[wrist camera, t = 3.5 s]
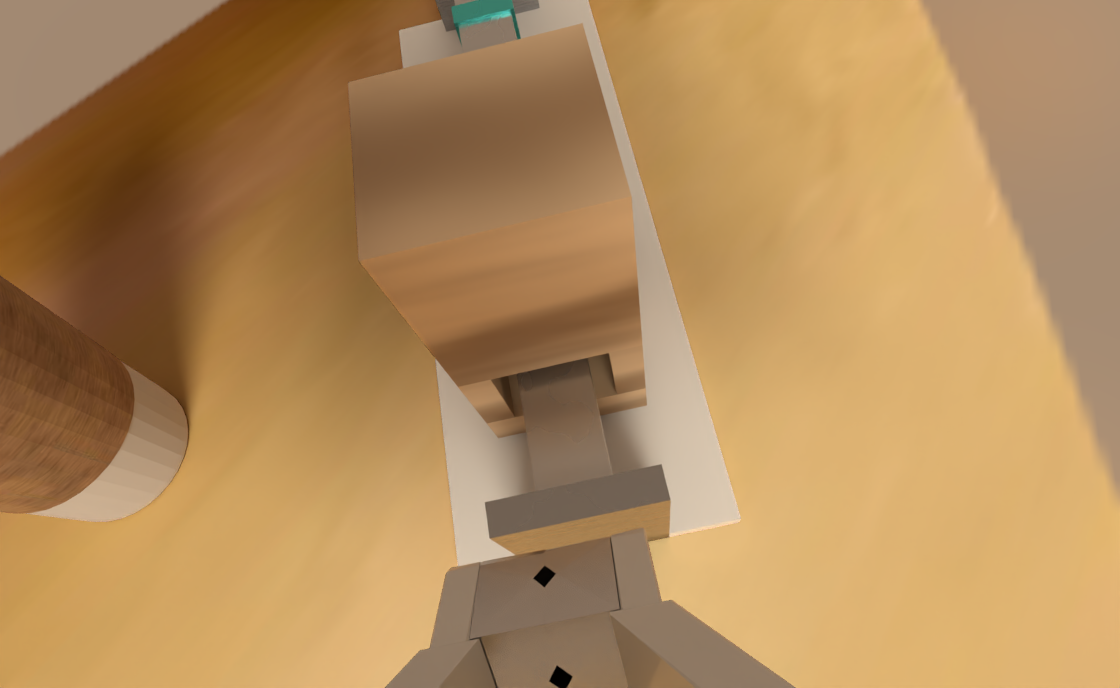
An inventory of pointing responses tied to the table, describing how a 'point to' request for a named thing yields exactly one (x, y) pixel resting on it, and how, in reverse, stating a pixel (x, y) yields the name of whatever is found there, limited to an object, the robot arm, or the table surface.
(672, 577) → the table surface
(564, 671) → the robot arm
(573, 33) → the wooden slider block
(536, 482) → the sliding carriage track
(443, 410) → the board
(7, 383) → the coffee cup
